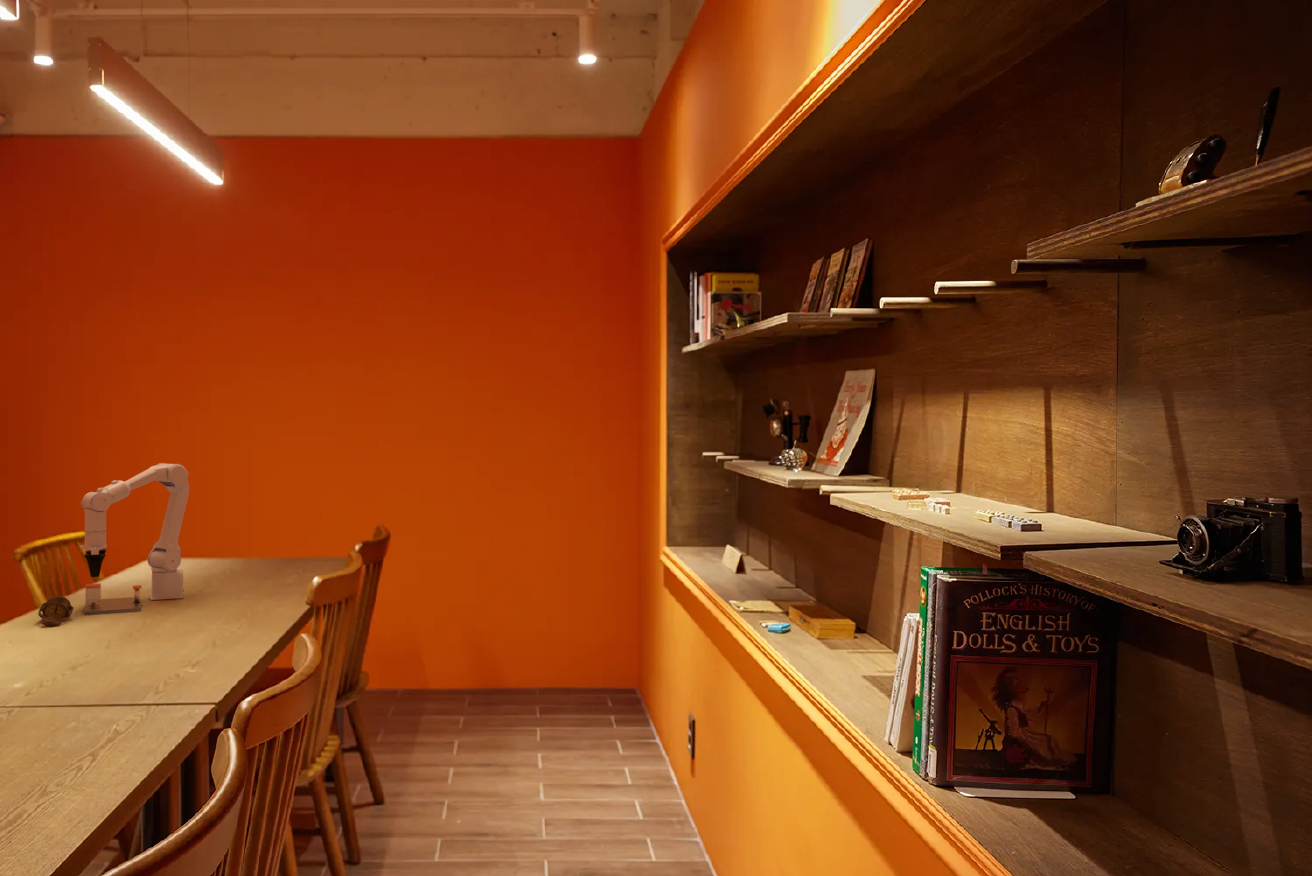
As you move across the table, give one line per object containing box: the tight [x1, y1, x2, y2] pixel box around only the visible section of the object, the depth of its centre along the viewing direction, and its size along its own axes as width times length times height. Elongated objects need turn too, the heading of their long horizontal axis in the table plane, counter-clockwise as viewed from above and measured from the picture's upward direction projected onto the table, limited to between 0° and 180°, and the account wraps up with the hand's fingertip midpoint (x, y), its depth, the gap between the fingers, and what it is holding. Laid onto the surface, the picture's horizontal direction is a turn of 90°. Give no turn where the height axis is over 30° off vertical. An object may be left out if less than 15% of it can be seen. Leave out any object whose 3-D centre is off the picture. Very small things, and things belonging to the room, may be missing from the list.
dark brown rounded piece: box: [37, 595, 74, 628], centre depth 278 cm, size 7×13×10 cm
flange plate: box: [83, 584, 143, 616], centre depth 301 cm, size 15×20×6 cm
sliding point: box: [85, 583, 102, 605], centre depth 298 cm, size 4×4×6 cm
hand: (95, 575), depth 298 cm, fingers open, 7 cm apart
